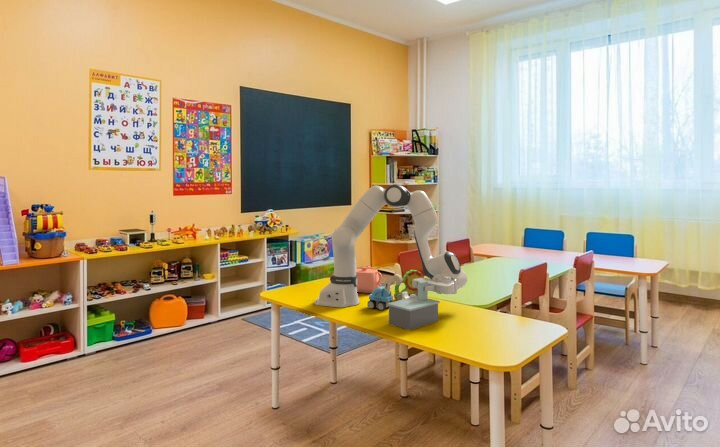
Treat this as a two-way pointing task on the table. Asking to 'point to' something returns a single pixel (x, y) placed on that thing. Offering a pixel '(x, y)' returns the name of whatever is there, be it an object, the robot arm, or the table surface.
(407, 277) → the toy lion
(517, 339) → the table surface
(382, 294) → the toy excavator
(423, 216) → the robot arm
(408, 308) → the lid
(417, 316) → the tub
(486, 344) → the table surface
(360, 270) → the teapot
